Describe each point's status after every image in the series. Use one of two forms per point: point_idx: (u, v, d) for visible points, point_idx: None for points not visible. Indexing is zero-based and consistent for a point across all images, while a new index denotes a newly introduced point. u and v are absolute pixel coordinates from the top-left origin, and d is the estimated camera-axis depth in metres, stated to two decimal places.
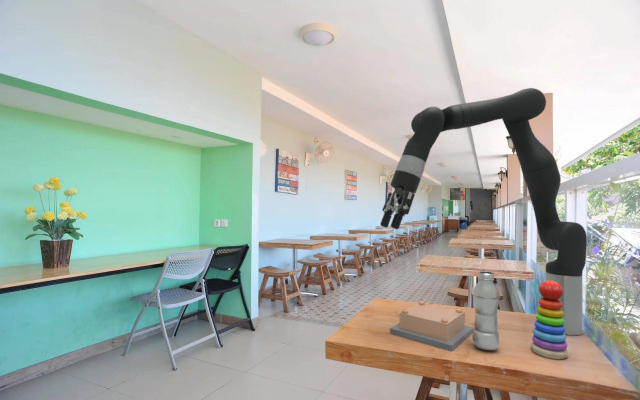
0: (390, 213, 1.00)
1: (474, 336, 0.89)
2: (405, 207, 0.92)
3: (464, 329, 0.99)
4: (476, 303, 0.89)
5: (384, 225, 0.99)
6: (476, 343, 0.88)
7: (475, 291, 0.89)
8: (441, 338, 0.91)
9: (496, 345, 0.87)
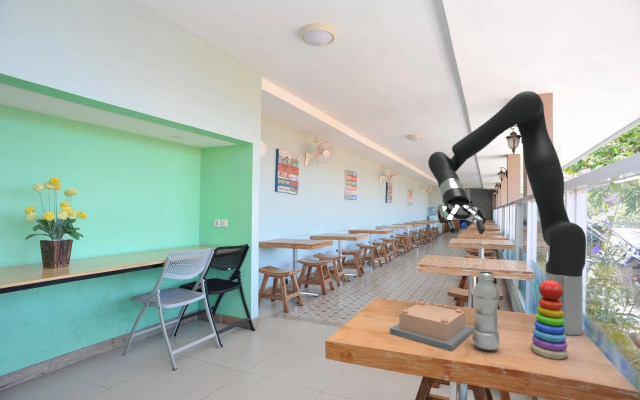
0: (477, 220, 1.04)
1: (474, 336, 0.89)
2: (450, 213, 1.05)
3: (464, 329, 0.99)
4: (476, 303, 0.89)
5: (480, 231, 1.02)
6: (476, 343, 0.88)
7: (475, 291, 0.89)
8: (441, 338, 0.91)
9: (496, 345, 0.87)
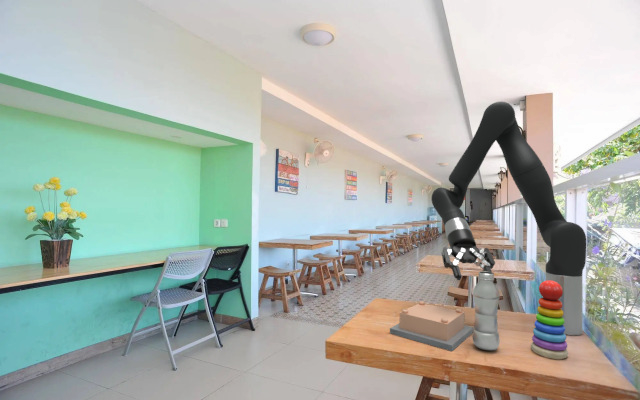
0: (484, 265, 0.99)
1: (474, 336, 0.89)
2: (455, 257, 1.00)
3: (464, 329, 0.99)
4: (476, 303, 0.89)
5: None
6: (476, 343, 0.88)
7: (475, 291, 0.89)
8: (441, 338, 0.91)
9: (496, 345, 0.87)
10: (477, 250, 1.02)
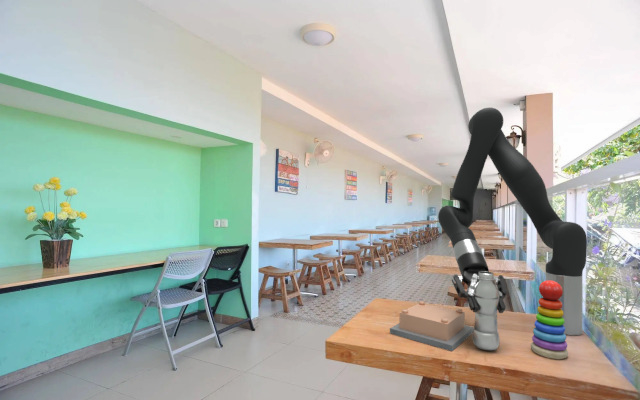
0: None
1: (474, 336, 0.89)
2: (469, 286, 0.92)
3: (464, 329, 0.99)
4: None
5: (500, 310, 0.88)
6: (476, 343, 0.88)
7: (475, 291, 0.89)
8: (441, 338, 0.91)
9: (496, 345, 0.87)
10: None
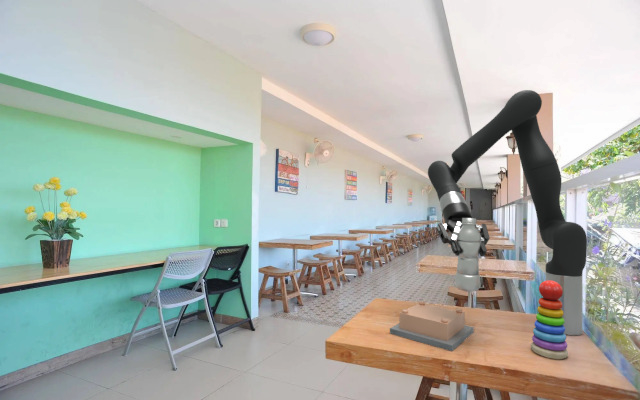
0: None
1: (456, 279, 0.92)
2: (453, 232, 0.95)
3: (464, 329, 0.99)
4: None
5: (481, 253, 0.91)
6: (458, 285, 0.92)
7: (458, 236, 0.92)
8: (441, 338, 0.91)
9: (477, 286, 0.90)
10: None
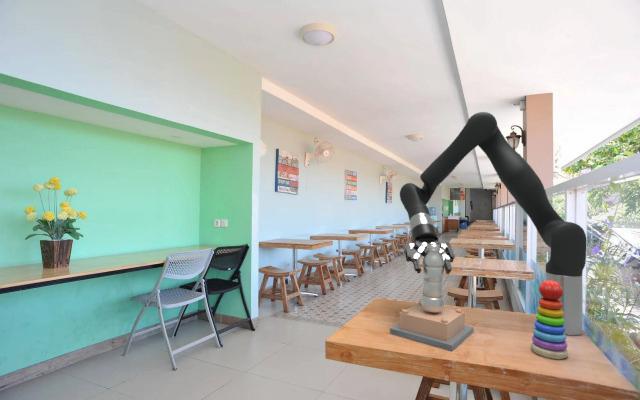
0: (444, 259, 1.02)
1: (422, 301, 1.00)
2: (417, 251, 1.03)
3: (464, 329, 0.99)
4: (424, 271, 1.00)
5: (447, 271, 0.99)
6: (423, 307, 0.99)
7: (423, 261, 1.00)
8: (441, 338, 0.91)
9: (440, 308, 0.97)
10: None
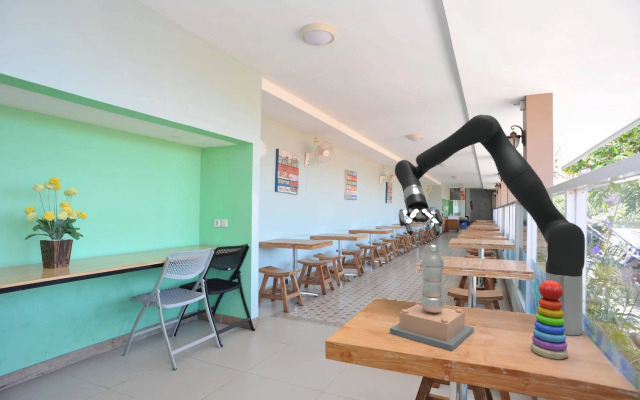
0: (434, 223, 1.14)
1: (421, 301, 1.00)
2: None
3: (464, 329, 0.99)
4: (423, 272, 1.00)
5: (436, 233, 1.12)
6: (423, 307, 0.99)
7: (422, 261, 1.00)
8: (441, 338, 0.91)
9: (439, 308, 0.97)
10: (429, 211, 1.18)
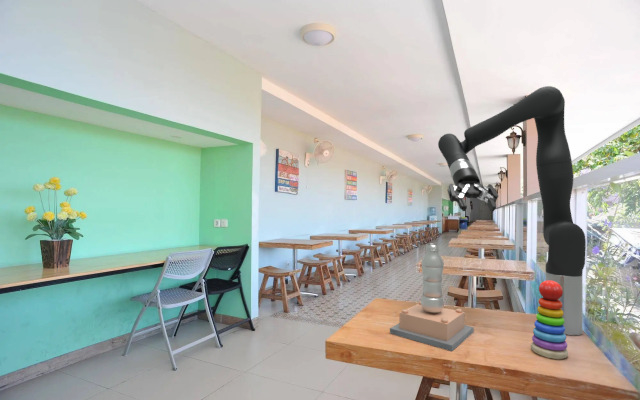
0: (488, 198, 1.05)
1: (421, 301, 1.00)
2: (461, 192, 1.06)
3: (464, 329, 0.99)
4: (423, 272, 1.00)
5: (491, 208, 1.03)
6: (423, 307, 0.99)
7: (422, 261, 1.00)
8: (441, 338, 0.91)
9: (439, 308, 0.97)
10: (481, 186, 1.08)
